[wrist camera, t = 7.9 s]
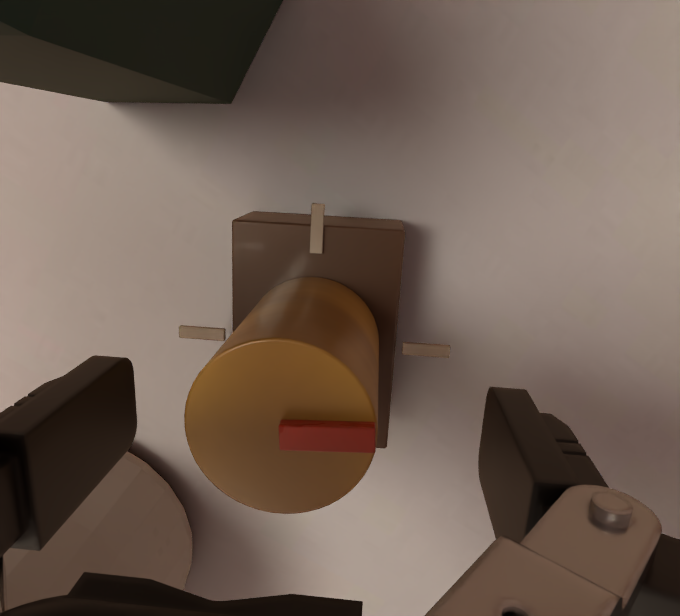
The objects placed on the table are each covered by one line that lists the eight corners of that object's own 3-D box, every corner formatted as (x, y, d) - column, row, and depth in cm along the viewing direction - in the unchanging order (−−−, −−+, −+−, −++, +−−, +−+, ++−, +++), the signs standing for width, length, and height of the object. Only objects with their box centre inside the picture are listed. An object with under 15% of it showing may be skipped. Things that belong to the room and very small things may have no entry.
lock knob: (251, 399, 17) (187, 520, 11) (243, 275, 16) (168, 341, 10) (378, 402, 17) (376, 528, 11) (379, 276, 15) (378, 345, 10)
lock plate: (204, 189, 18) (174, 195, 15) (453, 204, 17) (466, 212, 15) (208, 413, 20) (183, 451, 17) (428, 431, 20) (435, 473, 17)
